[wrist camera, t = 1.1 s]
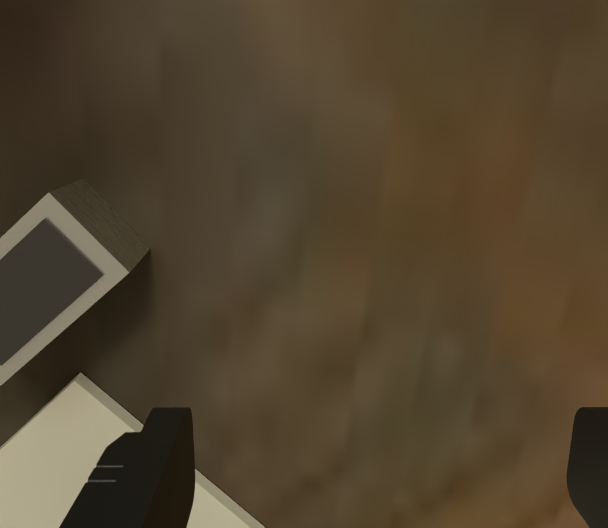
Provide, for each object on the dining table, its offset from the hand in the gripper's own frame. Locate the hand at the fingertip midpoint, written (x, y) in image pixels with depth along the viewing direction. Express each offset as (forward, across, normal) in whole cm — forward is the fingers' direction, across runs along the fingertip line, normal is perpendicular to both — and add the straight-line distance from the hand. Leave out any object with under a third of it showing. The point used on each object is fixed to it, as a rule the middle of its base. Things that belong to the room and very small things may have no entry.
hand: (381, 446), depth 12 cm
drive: (+19, +15, +1) cm, 24 cm away
